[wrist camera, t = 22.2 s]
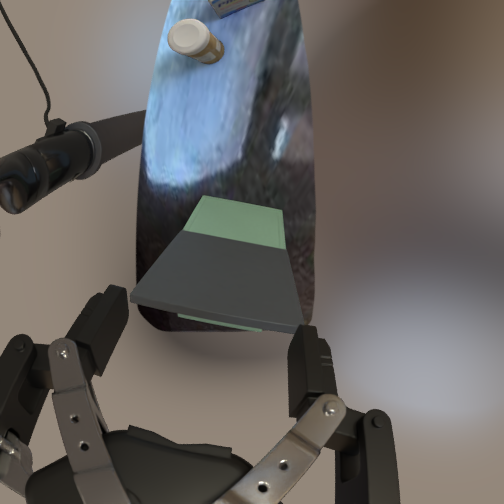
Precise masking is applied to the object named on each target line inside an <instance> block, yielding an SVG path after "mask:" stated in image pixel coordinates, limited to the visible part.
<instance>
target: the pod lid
mask: <svg viewBox="0 0 504 504" xmlns="http://www.w3.org/2000/svg"><path fill="white" fill-rule="evenodd" d="M130 302H132V303H136V304H140V305H144V306H148V307H152V308H156V309H161V310H165V311H169V312H174V313H178V314H183V315H188V316H193V317H197V318H202V319H207V320H212V321H218V322H223V323H228V324H234V325H240V326H245V327H251V328H257V329H264V330H270V331H277V332H284V333H290V334H295V332H296V330H297V328H298V326H299V324H303V325H304V320H303V316H302V311H301V307H300V303H299V299H298V294H297V290H296V286H295V282H294V278H293V273H292V269H291V265H290V261H289V257H288V253H287V250H285V249H280V248H275V247H270V246H265V245H259V244H254V243H249V242H244V241H238V240H233V239H228V238H222V237H217V236H212V235H206V234H201V233H196V232H190V231H185V230H181V231H180V232H179V233H178V235H177V236H176V237H175V238H174V239H173V241H172V242H171V243H170V244H169V245H168V247H167V248H166V249H165V250H164V251H163V253H162V254H161V255H160V256H159V258H158V259H157V260H156V261H155V263H154V264H153V265H152V266H151V268H150V269H149V270H148V271H147V273H146V274H145V275H144V277H143V278H142V279H141V280H140V282H139V283H138V284H137V286H136V287H135V288H134V289H133V291H132V292H131V293H130Z"/></svg>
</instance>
